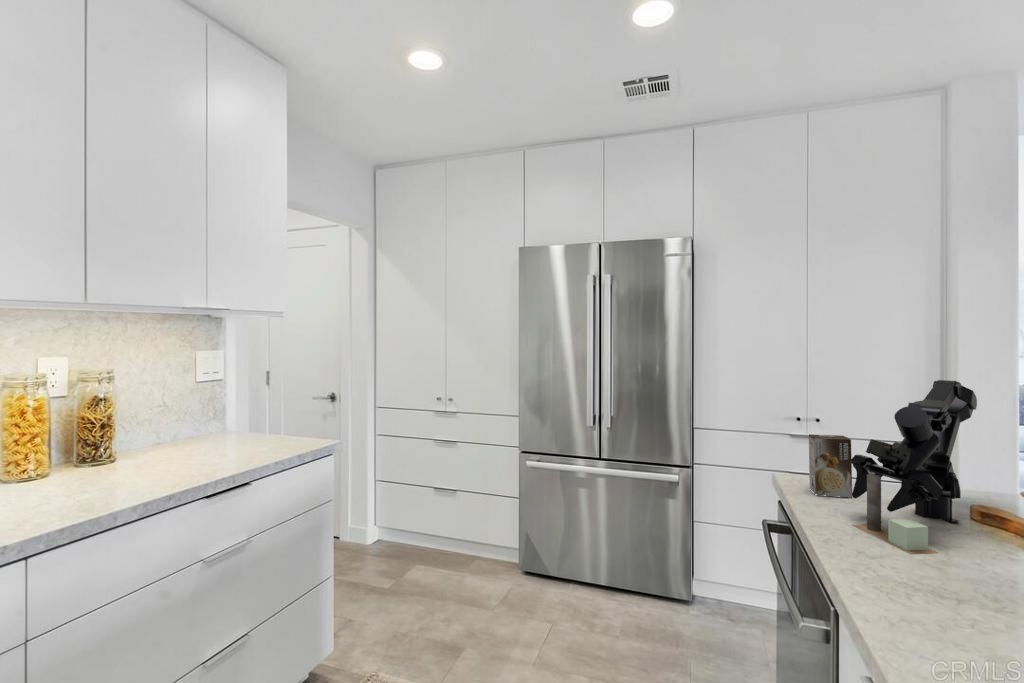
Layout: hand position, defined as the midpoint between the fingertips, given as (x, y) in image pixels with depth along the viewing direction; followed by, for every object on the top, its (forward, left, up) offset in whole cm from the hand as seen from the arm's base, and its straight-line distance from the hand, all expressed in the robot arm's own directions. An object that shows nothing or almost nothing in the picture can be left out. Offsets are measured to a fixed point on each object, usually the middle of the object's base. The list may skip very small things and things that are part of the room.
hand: (870, 503), depth 115 cm
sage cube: (-1, +9, -6) cm, 11 cm away
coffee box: (-11, -28, -7) cm, 31 cm away
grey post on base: (-1, +5, -7) cm, 8 cm away
